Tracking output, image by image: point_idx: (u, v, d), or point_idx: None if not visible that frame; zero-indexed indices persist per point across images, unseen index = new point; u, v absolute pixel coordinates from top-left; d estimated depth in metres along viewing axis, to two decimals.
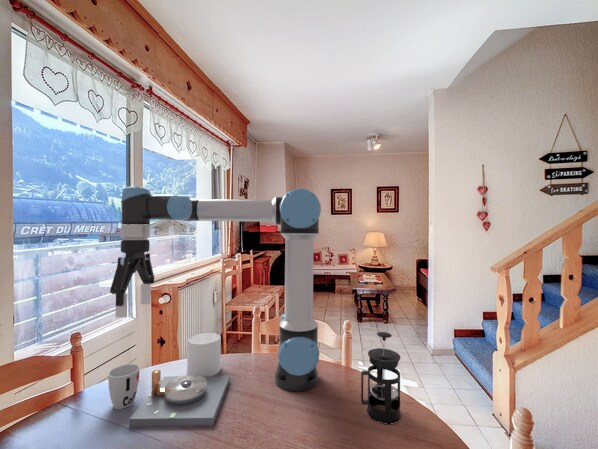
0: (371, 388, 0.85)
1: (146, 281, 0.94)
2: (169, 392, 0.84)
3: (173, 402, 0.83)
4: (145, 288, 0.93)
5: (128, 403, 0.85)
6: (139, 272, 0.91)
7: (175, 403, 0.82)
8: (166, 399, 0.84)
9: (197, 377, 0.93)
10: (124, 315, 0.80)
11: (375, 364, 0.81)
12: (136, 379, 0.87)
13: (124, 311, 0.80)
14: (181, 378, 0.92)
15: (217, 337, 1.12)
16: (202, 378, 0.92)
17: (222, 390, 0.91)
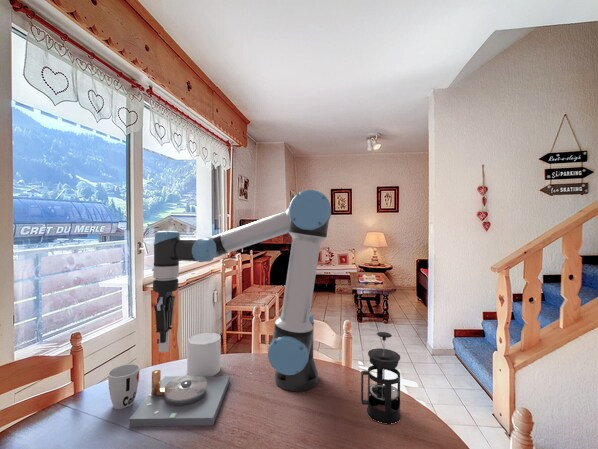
0: (371, 388, 0.85)
1: None
2: (169, 392, 0.84)
3: (173, 402, 0.83)
4: None
5: (128, 403, 0.85)
6: None
7: (175, 403, 0.82)
8: (166, 399, 0.84)
9: (197, 377, 0.93)
10: (166, 350, 0.94)
11: (375, 364, 0.81)
12: (136, 379, 0.87)
13: (166, 347, 0.94)
14: (181, 378, 0.92)
15: (217, 337, 1.12)
16: (202, 378, 0.92)
17: (222, 390, 0.91)
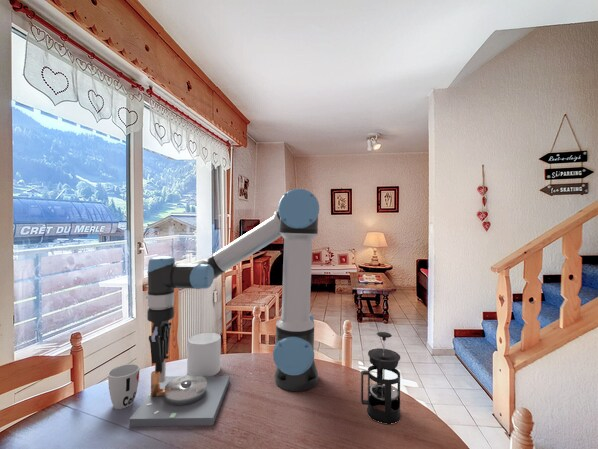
0: (371, 388, 0.85)
1: None
2: (169, 392, 0.84)
3: (174, 402, 0.83)
4: None
5: (128, 403, 0.85)
6: None
7: (176, 403, 0.82)
8: (167, 399, 0.84)
9: (197, 377, 0.93)
10: (163, 380, 0.91)
11: (375, 364, 0.81)
12: (136, 379, 0.87)
13: (162, 377, 0.91)
14: (180, 378, 0.92)
15: (217, 337, 1.12)
16: (202, 378, 0.92)
17: (222, 390, 0.91)
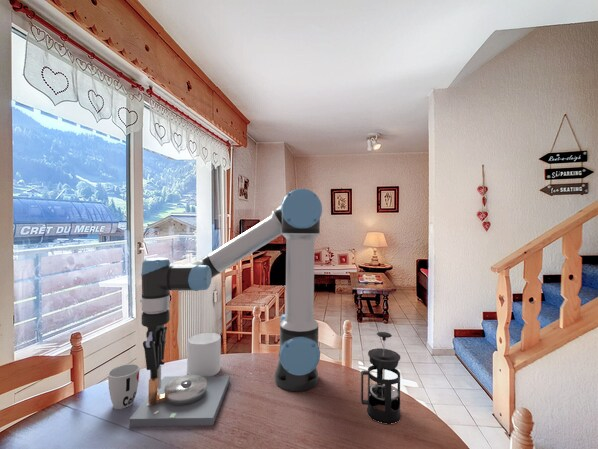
0: (371, 388, 0.85)
1: None
2: (176, 394, 0.83)
3: (184, 402, 0.83)
4: None
5: (128, 403, 0.85)
6: None
7: (186, 402, 0.83)
8: (174, 402, 0.83)
9: (190, 376, 0.93)
10: (158, 387, 0.87)
11: (375, 364, 0.81)
12: (136, 379, 0.87)
13: (158, 384, 0.86)
14: (174, 381, 0.90)
15: (217, 337, 1.12)
16: (196, 376, 0.94)
17: (222, 390, 0.91)
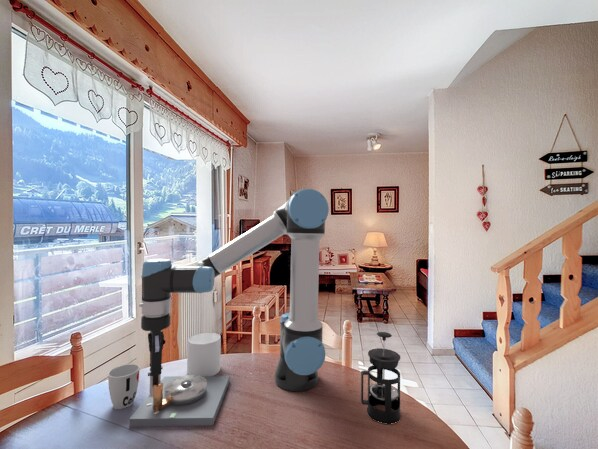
0: (371, 388, 0.85)
1: None
2: (184, 394, 0.83)
3: (194, 399, 0.84)
4: None
5: (128, 403, 0.85)
6: None
7: (196, 399, 0.84)
8: (183, 402, 0.83)
9: (183, 377, 0.93)
10: None
11: (375, 364, 0.81)
12: (136, 379, 0.87)
13: None
14: (170, 385, 0.88)
15: (217, 337, 1.12)
16: (189, 375, 0.94)
17: (222, 390, 0.91)
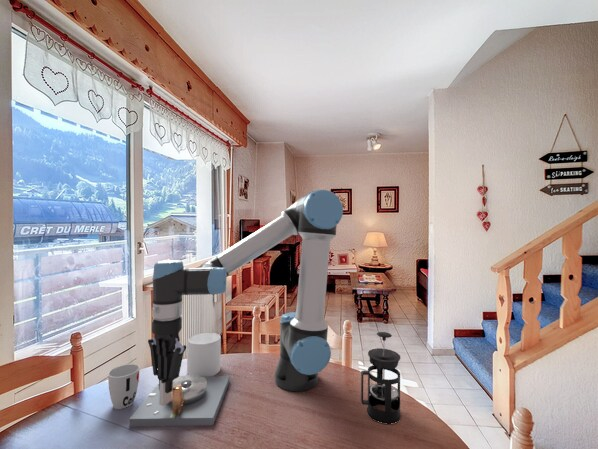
0: (371, 388, 0.85)
1: (164, 375, 0.80)
2: (197, 390, 0.86)
3: (204, 392, 0.88)
4: None
5: (128, 403, 0.85)
6: (162, 358, 0.80)
7: (205, 392, 0.88)
8: (197, 397, 0.85)
9: (173, 381, 0.90)
10: (170, 399, 0.81)
11: (375, 364, 0.81)
12: (136, 379, 0.87)
13: (170, 395, 0.81)
14: None
15: (217, 337, 1.12)
16: (177, 378, 0.92)
17: (222, 390, 0.91)
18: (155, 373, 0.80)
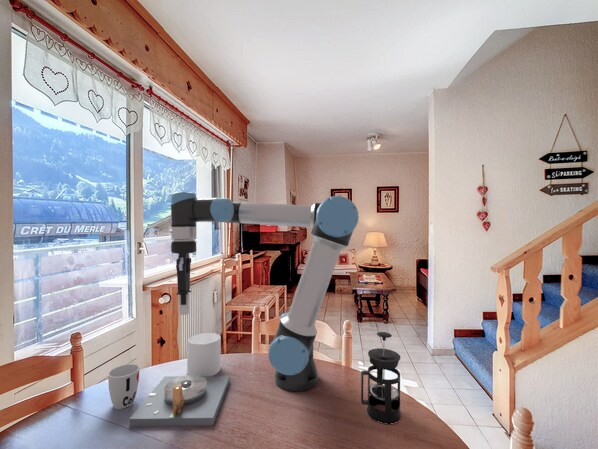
0: (371, 388, 0.85)
1: None
2: (197, 390, 0.86)
3: (204, 392, 0.88)
4: None
5: (128, 403, 0.85)
6: None
7: (205, 392, 0.88)
8: (198, 397, 0.85)
9: (173, 381, 0.90)
10: (187, 312, 0.93)
11: (375, 364, 0.81)
12: (136, 379, 0.87)
13: (187, 309, 0.93)
14: (170, 390, 0.85)
15: (217, 337, 1.12)
16: (177, 378, 0.92)
17: (222, 390, 0.91)
18: None
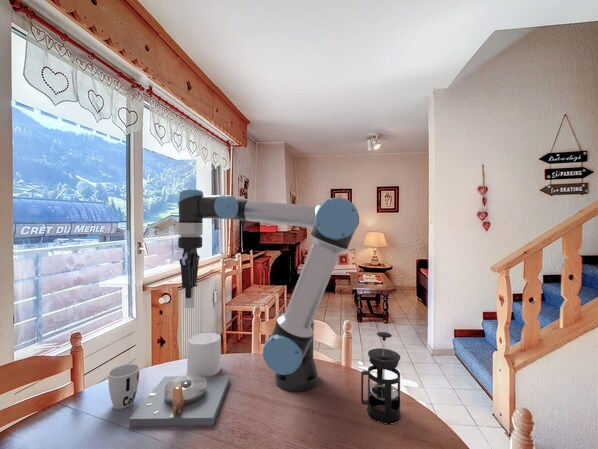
0: (371, 388, 0.85)
1: None
2: (197, 390, 0.86)
3: (204, 392, 0.88)
4: None
5: (128, 403, 0.85)
6: None
7: (205, 392, 0.88)
8: (198, 397, 0.85)
9: (173, 381, 0.90)
10: (191, 306, 0.96)
11: (375, 364, 0.81)
12: (136, 379, 0.87)
13: (191, 302, 0.96)
14: (170, 390, 0.85)
15: (217, 337, 1.12)
16: (177, 378, 0.92)
17: (222, 390, 0.91)
18: None
